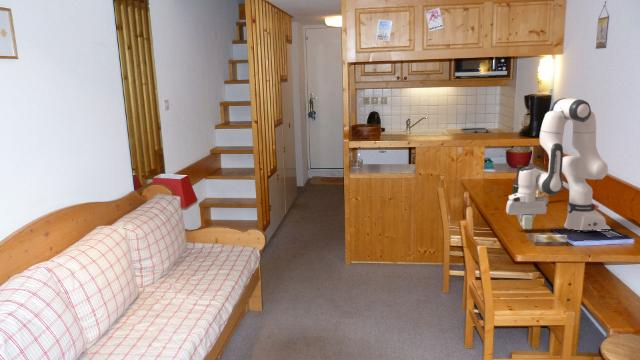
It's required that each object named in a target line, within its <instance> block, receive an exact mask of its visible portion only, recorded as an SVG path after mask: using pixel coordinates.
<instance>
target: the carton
mask: <svg viewBox="0 0 640 360" xmlns="http://www.w3.org/2000/svg"><path fill="white" fill-rule="evenodd" d="M532 216H533V215H532V214H520V216H519V217H520V218H521V219H522V222H519V225H520V226H521V227H522V229H524V230H533V222H532Z"/></svg>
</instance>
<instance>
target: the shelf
mask: <svg viewBox="0 0 640 360" xmlns="http://www.w3.org/2000/svg"><path fill="white" fill-rule="evenodd" d="M525 236H526V238H527V239H528V240H529V241H530V242H531V243H532V245H534V246H535V247H537V246H538V247H539V246H541V247H542V246H544V247H545V246H549V247H551V246H553V247H555V246H558V247H559V246H562V247H563V246H567V242H568V241H567V240H568V235H567V234H558V233H557V232H527V233H526V235H525Z"/></svg>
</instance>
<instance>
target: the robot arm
mask: <svg viewBox="0 0 640 360" xmlns="http://www.w3.org/2000/svg"><path fill="white" fill-rule="evenodd" d="M568 121H572V136H571V137H572V139H571V144H572V147H573V149H575V150H576V151H577V153H578V154H579V155H566V156H565V155H564V149H563V148H564V147H563V137H564V133H565V132H564V131H565V125H566V124H567V122H568ZM539 145H540V146H541V147H542V148H543V149H544V151H545V152H546V153H547V155H548V159H549V161H548V170H547V171H548V172H547V171H542V170H540V169H537V168H536V167H535V166H533V165H532V166H531V165H530V166H529V165H528V166H523V167H522V169H521V170H520V172H519V177H518V185H519V189H518V193H515V194H513V193H512V194H509V195H508V200H507V203H506V205H505V206H506V207H505V212H506V214H507V215H509V216H510V215H511V216H512V215H513V216H514V215H516V217H517V219H518V223H520V222H522V219H521V218H520V214H531V215H532V223H534V219H535V218H536V216H537V215H546V213H547V210H548V209H547V204H546V203H547V199H546V198H545V197H536V190H537V189H540V190H542V191H544V192H545V193H547V194H549V196H554V195H558V194H559V193H560V192H561V191H562V189H563V187H564V181H563V175H564V177H565V179H566V181H567V183H568V187H569V188H568V189H569V193H568V195H569V198H568V199H569V200H568V201H567V207H566V208H567V216H566V218H565V219H566V220H565V222H564V225H563V226H564V228H565V229H567V230H570V229H574V230H592V229H593V230H601V229H611V228H612V227H610V226H609V225H608V224H607V221H606V218H605V217H604V216H603V215H602V214H601V213H600V212H598V211H597V209H599V207H600V206H599V205H598V204H595V203H593V194H594V192H593V188H592V186H590V185H589V184H588V182H587V181H586V179H587V180H603V179H604V178H605V177H607V174H608V171H609V167H608V164H607V162H606V161H604V160H603V159H602V158H601V156H600V154H599V152H598V148H597V120H596V115H595V113H594V111H592V109H591V105H590V104H589V102H588V101H586V100H584V99H579V98H573V97H572V98H570V97H569V98H566V97H564V98H563V97H562V98H559V99H556V100H555V101H554V102H553V103H552V106H551V108H550V110H549V111H547V112H546V113H545V114H544V117H543V120H542V123H541V127H540V131H539ZM562 174H563V175H562ZM574 230H573V231H574ZM611 230H612V229H611Z"/></svg>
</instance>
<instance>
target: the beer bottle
mask: <svg viewBox="0 0 640 360" xmlns="http://www.w3.org/2000/svg"><path fill="white" fill-rule="evenodd" d="M516 167H517V168H516V176H515V178H514V180H513V185H512V194H515V193H518V189H519V185H518V177H519V172H520V170H521V169H522V168H523V167H524V166H523V165H522V164H518V165H516Z"/></svg>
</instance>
